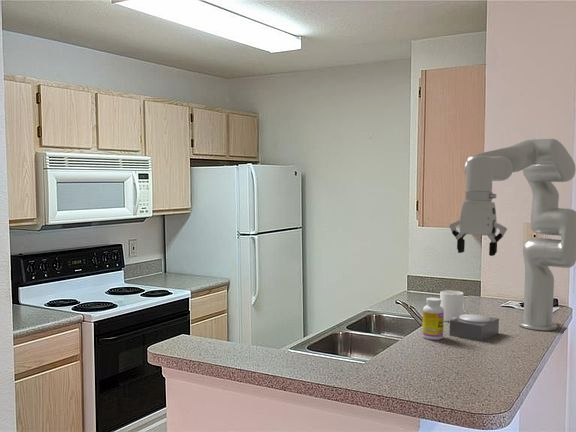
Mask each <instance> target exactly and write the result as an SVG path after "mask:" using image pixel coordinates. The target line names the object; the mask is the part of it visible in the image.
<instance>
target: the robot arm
mask: <svg viewBox="0 0 576 432" xmlns="http://www.w3.org/2000/svg"><path fill="white" fill-rule="evenodd" d="M463 167H464V169H463V170H464V175H465V198H464V199H465V200H464V201H463V202H462V206H461V210H460V217H459V220H457V221H454V222H453V223H450V224H449V229H450V230H451V234H452V235H453V236H454V238H455V239H456V241H457V244H456V249H457V253H459V254H462V253H465V245H466V241H465V236H466V235H472V236H487V237H488V239H489V240H490V242H489V248H488V249H489V251H488V252H489V253H488V255H489V256H490V257H493V256H495V255H496V254H497V251H498V242H499V241H500V240H501V239H502V238H504V235H505V234H506V232H507V230H508V227H506V226H504V225H502V224H500V223H499V222H498V221H497V211H496V209H497V208H496V204H495V202H494V201H493V199H497V193H493V192H494V191H493V182H502V181H506V180H509V178H510V177H511V176H512V174H513V173H516V172H520V171H522V173H523V176H524V177H525V179H526V181H527V183H528V185H529V187H530V189H531V193H532V200H531V201H532V202H531V213H530V230H531V231H532V232H533V233H535V234H539V235H547V236H558V237H561V239H556V238H555V239H554V238H543V237H532V238H529V239H528V240H526V241H525V242H524V244H523V248H522V253H523V255H522V256H523V260H524V261H523V262H524V295H523V296H524V297H523V318H522V319H520V320H518V325H519V326H520V327H522V328H525V329H528V330H535V331H554V330H557V328H558V324H556V323H555V322H553V319H554V318H553V314H554V312H553V310H554V291H555V290H554V289H555V278H554V275H553V273H552V270H551V269H550V267H552V268H553V267H554V268H555V267H556V268H564V269H568V268H569V269H570V268H572V267H573V266H575V264H576V210H574V209H572V208H563V207H562V208H561V207H560V208H559V201H560V195H559V191H558V189H557V187H556V186H555V184H553V183H560V182H561V183H565V182H570V181H571V180H573V178H574V177H575V175H576V164H575V160H574V159H573V158H572V156H571V154H570V153H569V152H568V150H567V148H566V147H565V146H564V145H563V144H562V142H561V141H559V140H557V139H556V138H540V139H539V138H538V139H536V138H535V139H533V138H532V139H527V140H523V141H520V142H518V143H516V144H513V145H511V146H506V147H502V148H498V149H493V150H489V151H484V152H480V153H477V154H474V155H471V156H469V157H467V159H466V162H465V163H464V166H463ZM457 227H459V231H458V230H457ZM497 230H499V233H498V234H497V235H496V233H497Z"/></svg>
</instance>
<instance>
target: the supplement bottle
mask: <svg viewBox="0 0 576 432" xmlns="http://www.w3.org/2000/svg"><path fill="white" fill-rule="evenodd" d="M425 300H426V302H425V303H426V305H424V306H423V309H422V327H421V328H422V329H421V331H422V332H421V334H422V335H421V336H422V337H423V338H424V339H426V340H433V341H436V340H437V341H439V340H441V339H443V337H444V322H445V321H444V309H443V308H442V307H441V306H440V304H441V299H440V297H439V298H438V297H427V298H426V299H425Z"/></svg>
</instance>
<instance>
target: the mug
mask: <svg viewBox="0 0 576 432" xmlns="http://www.w3.org/2000/svg"><path fill="white" fill-rule="evenodd" d="M439 293H440V294H439V299H441V304H440V306H441V307H442V308H443V309H444V321H443V322H446V321H449V322H448V323H450V320H452V319H453V317H456V318H457V317H459V316H460V315H464V312H465V311H466V307H467V300H466V297H465V296H464V292H463V291H459V290H441V291H440V292H439Z"/></svg>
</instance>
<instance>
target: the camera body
mask: <svg viewBox="0 0 576 432" xmlns="http://www.w3.org/2000/svg"><path fill="white" fill-rule="evenodd" d="M499 322H500V318H497V317H492V316H486V315H482V314H473V313H466V314H464V313H463V315H460V316H459V317H457V318H456V317H453V319H452V320H450V322H449V336H454V337H458V338H463V339H468V340H473V341H478V342H483V341H484V340H487V339H490V338H491V337H493V336H495V335H496V336H497V335H498V334H499V329H500V327H499V325H500V323H499Z"/></svg>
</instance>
